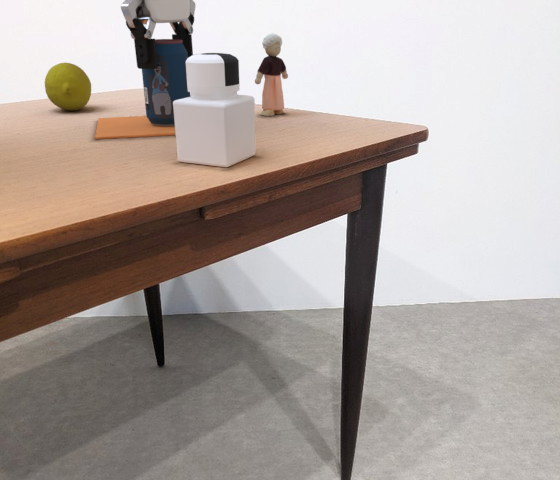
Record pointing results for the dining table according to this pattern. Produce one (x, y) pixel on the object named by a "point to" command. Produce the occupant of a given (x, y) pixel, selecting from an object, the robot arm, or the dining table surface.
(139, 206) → the dining table surface
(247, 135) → the medicine bottle
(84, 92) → the lemon
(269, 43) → the grandmother figurine
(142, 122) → the orange cloth
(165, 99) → the soda can
